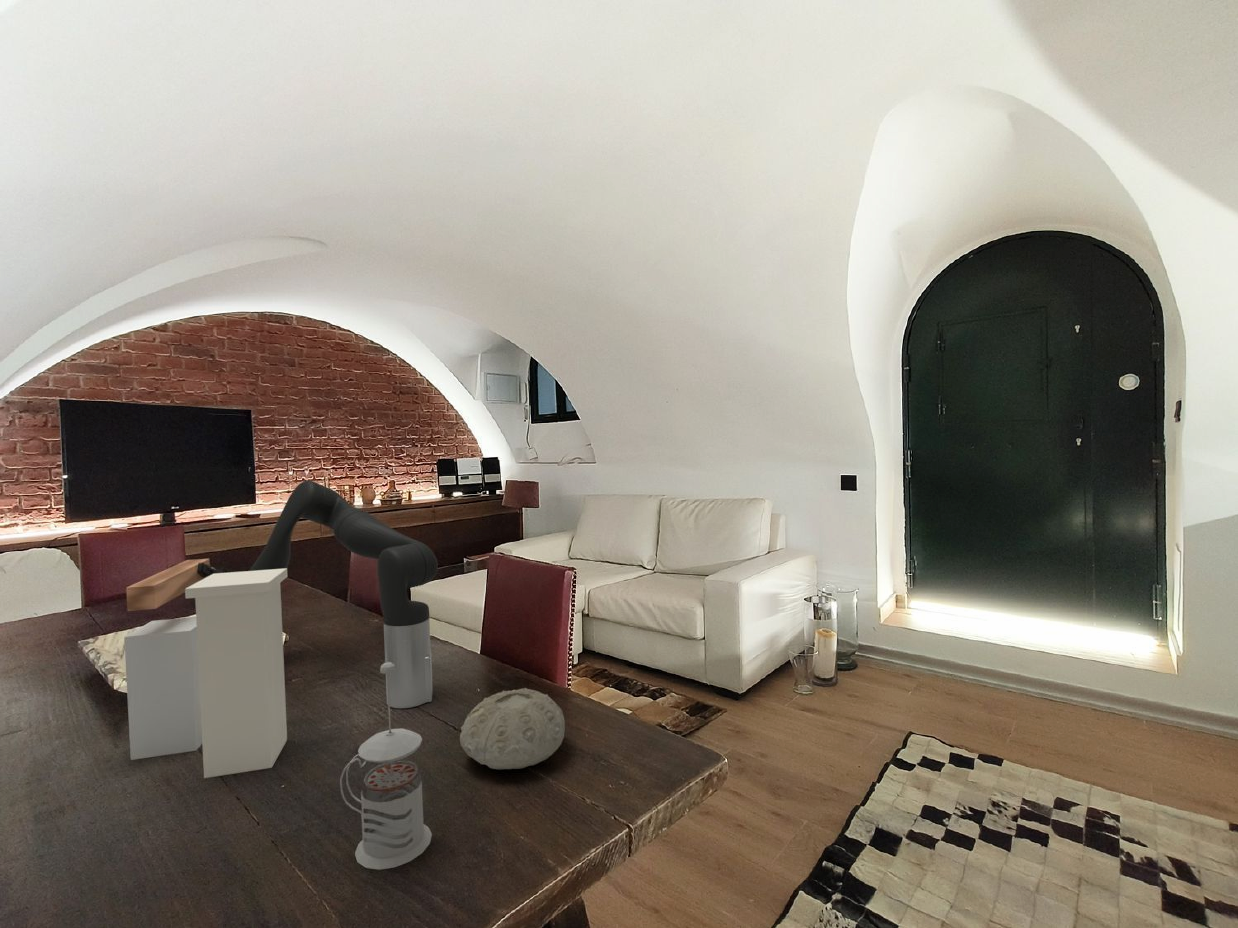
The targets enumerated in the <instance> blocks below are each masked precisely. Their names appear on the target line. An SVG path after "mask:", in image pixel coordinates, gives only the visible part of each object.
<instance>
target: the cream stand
mask: <svg viewBox="0 0 1238 928" xmlns="http://www.w3.org/2000/svg"><path fill="white" fill-rule="evenodd" d="M288 577H289V576H288V567H287V568H284V569H271V570H257V571H249V570H248V571H246V570H244V571H234V572H230V573H216V574H212V575H210V576H208V577H206V578H204V579H203V580H201V581H199V582H197V583H195V584H193V585H191V586H189V587H188V588H186V589H185V592H184V594H185V595H184V596H185V597H184V598H185V599H192V598H195V601H194V602H195V617H196V623H197V643H198V664H199V684H200V705H201V725H202V744H201V746H202V760H203V761H202V763H203V765H202V766H203V779H208V778H215V777H221V776H225V775H226V776H227V775H233V774H240V773H246V772H252V771H259V770H265V769H272V768H273V766H274V764H275V762H276V761H277V759H278V757H279V755H280V754H281V752H282V750H283V748H284V746H285V745H286V743H287V741H288V730H287V706H286V685H285V682H286V681H285V679H286V678H285V661H284V641H283V640H284V639H283V638H284V637H283V615H282V594H281V590H282V587H281V583H282V582H283V581H284V580H285V579H287V578H288Z"/></svg>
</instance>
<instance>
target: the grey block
mask: <svg viewBox="0 0 1238 928" xmlns="http://www.w3.org/2000/svg"><path fill="white" fill-rule="evenodd" d="M123 639H124V655H125V658H124V659H125V674H126V675H125V677H126V692H127V693H126V694H127V709H128V711H127V713H128V714H127V715H128V732H129V749H130V750H129V751H130V761H135V760H139V759H140V760H141V759H147V758H148V759H149V758H154V757H155V758H156V757H160V756H169V755H176V754H183V753H190V752H195V751H198V749H199V748H200V747H201V746H202V725H201V705H200V684H199V664H198V643H197V623H196V616H192V617H181V618H170V619H158V620H151V621H150V622H147V623H146V624H144V625H142V626H141V627H139V628H137V629H136V630H134V631H132V632H131V633H129V634H127V635H125V636H124V638H123Z"/></svg>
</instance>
